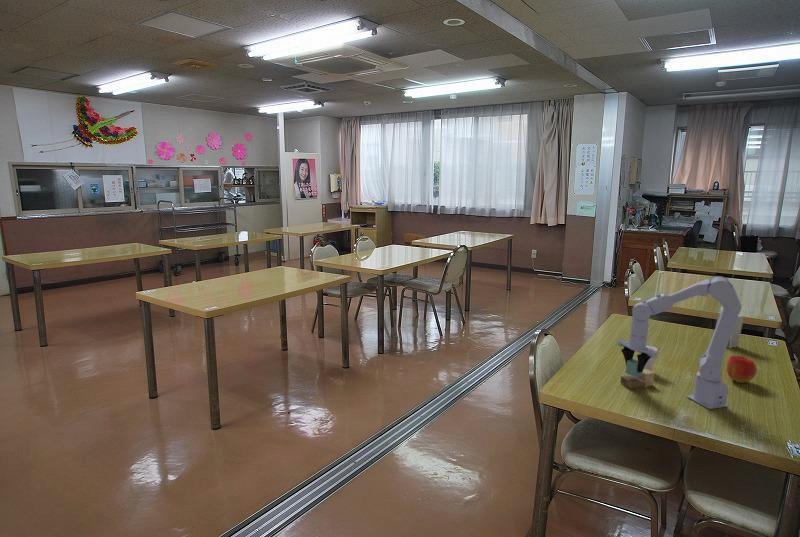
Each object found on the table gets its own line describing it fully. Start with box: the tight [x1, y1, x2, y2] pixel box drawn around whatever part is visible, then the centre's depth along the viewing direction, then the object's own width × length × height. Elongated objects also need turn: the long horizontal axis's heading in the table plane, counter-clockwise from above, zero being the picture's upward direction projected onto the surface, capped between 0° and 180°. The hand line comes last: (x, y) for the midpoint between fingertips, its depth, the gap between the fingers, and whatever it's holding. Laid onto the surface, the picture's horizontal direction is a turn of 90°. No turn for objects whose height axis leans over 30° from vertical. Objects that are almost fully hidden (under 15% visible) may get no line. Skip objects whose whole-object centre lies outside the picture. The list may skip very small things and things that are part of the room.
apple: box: [726, 355, 758, 384], centre depth 181 cm, size 10×10×10 cm
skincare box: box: [715, 311, 745, 349], centre depth 220 cm, size 8×7×16 cm
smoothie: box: [644, 337, 658, 371], centre depth 189 cm, size 6×6×14 cm
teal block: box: [625, 358, 642, 377], centre depth 175 cm, size 4×4×5 cm
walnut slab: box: [620, 375, 646, 391], centre depth 176 cm, size 6×6×3 cm
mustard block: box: [637, 369, 655, 387], centre depth 178 cm, size 4×4×5 cm
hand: (634, 369), depth 175 cm, fingers closed on teal block, 4 cm apart
